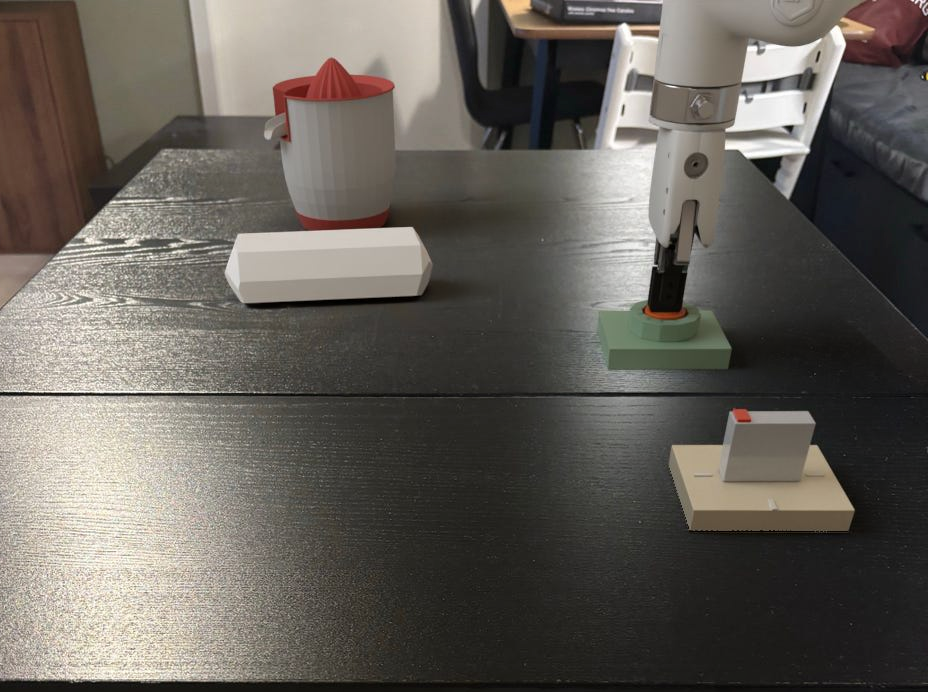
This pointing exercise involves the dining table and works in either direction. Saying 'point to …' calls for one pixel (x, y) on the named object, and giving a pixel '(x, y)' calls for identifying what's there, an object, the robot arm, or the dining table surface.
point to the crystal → (328, 265)
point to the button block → (662, 340)
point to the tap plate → (757, 495)
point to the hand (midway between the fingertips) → (663, 308)
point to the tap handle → (765, 445)
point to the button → (665, 314)
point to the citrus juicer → (336, 147)
